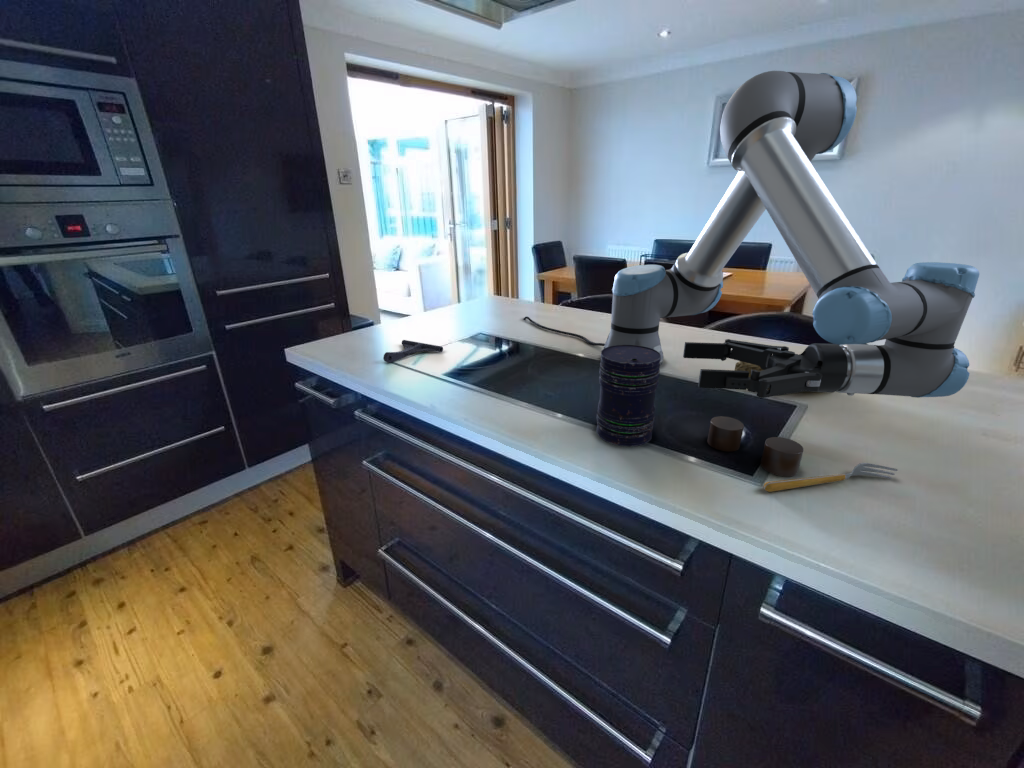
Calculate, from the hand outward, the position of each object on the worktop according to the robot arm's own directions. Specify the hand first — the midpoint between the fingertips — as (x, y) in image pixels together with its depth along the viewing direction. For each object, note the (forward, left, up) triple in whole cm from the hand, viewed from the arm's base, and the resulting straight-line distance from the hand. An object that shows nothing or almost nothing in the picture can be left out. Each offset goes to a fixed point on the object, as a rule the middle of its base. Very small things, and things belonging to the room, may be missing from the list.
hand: (691, 363), depth 72 cm
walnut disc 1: (+6, +3, -14) cm, 15 cm away
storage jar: (-7, -7, -14) cm, 17 cm away
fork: (+21, +4, -14) cm, 26 cm away
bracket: (-73, -20, -14) cm, 77 cm away
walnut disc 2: (+15, +3, -14) cm, 21 cm away
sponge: (+1, +37, -14) cm, 40 cm away
